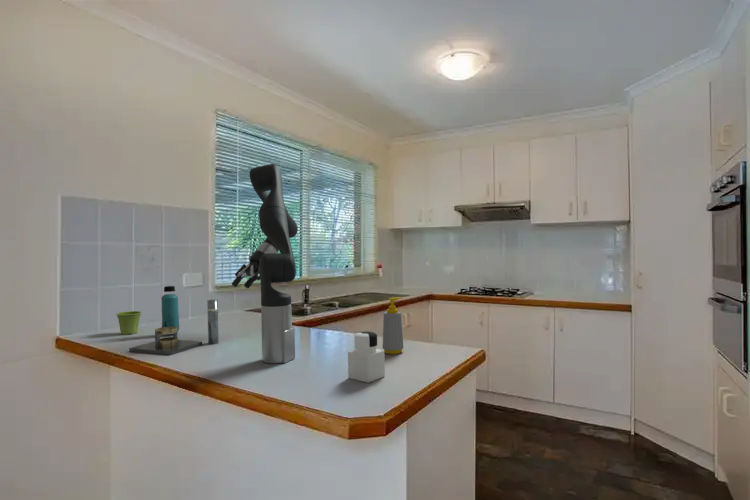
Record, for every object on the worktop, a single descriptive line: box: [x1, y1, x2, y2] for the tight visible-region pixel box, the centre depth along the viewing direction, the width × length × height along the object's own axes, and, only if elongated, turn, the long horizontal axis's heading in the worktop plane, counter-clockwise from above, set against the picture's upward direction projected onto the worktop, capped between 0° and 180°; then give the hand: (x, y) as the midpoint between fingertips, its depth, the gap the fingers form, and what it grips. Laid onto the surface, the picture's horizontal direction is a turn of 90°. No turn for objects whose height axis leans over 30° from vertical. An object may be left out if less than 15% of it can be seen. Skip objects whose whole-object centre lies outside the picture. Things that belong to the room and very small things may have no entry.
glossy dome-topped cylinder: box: [206, 299, 220, 345], centre depth 159 cm, size 4×4×16 cm
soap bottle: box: [382, 296, 404, 355], centre depth 141 cm, size 7×7×18 cm
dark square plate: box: [128, 326, 203, 356], centre depth 152 cm, size 18×15×7 cm
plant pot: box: [115, 310, 143, 336], centre depth 180 cm, size 9×9×9 cm
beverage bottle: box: [160, 285, 180, 332], centre depth 176 cm, size 6×7×20 cm
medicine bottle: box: [347, 331, 386, 384], centre depth 115 cm, size 7×7×12 cm
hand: (239, 286), depth 168 cm, fingers open, 8 cm apart
